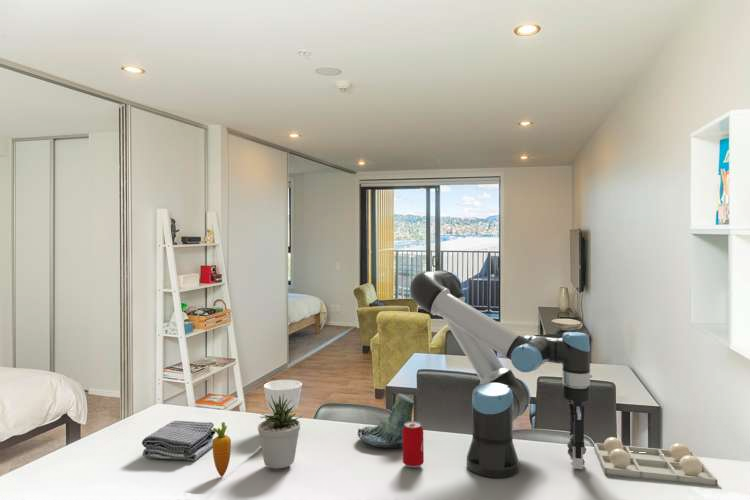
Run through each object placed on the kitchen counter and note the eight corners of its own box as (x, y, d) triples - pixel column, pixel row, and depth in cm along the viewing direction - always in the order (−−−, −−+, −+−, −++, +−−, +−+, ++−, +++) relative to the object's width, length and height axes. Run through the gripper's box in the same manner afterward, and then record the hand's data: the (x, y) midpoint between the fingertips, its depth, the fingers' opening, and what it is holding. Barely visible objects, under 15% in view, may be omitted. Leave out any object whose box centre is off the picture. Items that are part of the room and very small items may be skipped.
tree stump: (360, 424, 178) (380, 379, 179) (411, 449, 176) (431, 403, 176) (352, 439, 160) (374, 389, 161) (408, 468, 157) (431, 416, 158)
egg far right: (672, 464, 145) (672, 446, 145) (667, 457, 151) (666, 439, 151) (693, 466, 144) (693, 448, 144) (686, 458, 149) (686, 441, 149)
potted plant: (311, 461, 150) (311, 395, 150) (274, 476, 140) (274, 406, 140) (286, 449, 158) (286, 387, 158) (249, 463, 148) (249, 397, 148)
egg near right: (683, 478, 137) (682, 458, 137) (676, 469, 142) (676, 451, 142) (705, 480, 135) (705, 461, 135) (698, 472, 140) (697, 453, 140)
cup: (257, 434, 172) (257, 389, 172) (272, 420, 185) (271, 378, 185) (295, 436, 170) (294, 390, 170) (307, 422, 183) (306, 380, 183)
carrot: (220, 482, 136) (220, 428, 136) (208, 477, 139) (208, 424, 139) (234, 475, 141) (234, 422, 141) (222, 471, 143) (222, 419, 143)
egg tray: (604, 474, 140) (604, 467, 140) (594, 448, 158) (593, 442, 158) (717, 487, 132) (717, 479, 132) (692, 458, 151) (692, 451, 151)
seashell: (588, 471, 142) (588, 436, 142) (568, 469, 143) (568, 435, 143) (584, 463, 148) (584, 429, 148) (565, 461, 149) (565, 428, 149)
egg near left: (611, 470, 141) (611, 451, 141) (607, 462, 147) (607, 444, 147) (632, 472, 140) (632, 454, 140) (627, 464, 145) (627, 446, 145)
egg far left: (605, 457, 150) (605, 440, 150) (602, 450, 155) (602, 433, 155) (625, 459, 149) (625, 441, 149) (621, 452, 154) (621, 435, 154)
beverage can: (426, 461, 149) (426, 422, 149) (419, 470, 143) (419, 429, 143) (407, 458, 152) (407, 419, 152) (399, 466, 146) (399, 425, 146)
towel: (169, 440, 167) (169, 417, 167) (219, 444, 164) (219, 421, 164) (140, 459, 152) (140, 434, 152) (194, 464, 149) (193, 438, 149)
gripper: (595, 395, 136) (595, 479, 136) (585, 378, 153) (585, 452, 153) (566, 393, 138) (566, 475, 138) (559, 376, 155) (560, 450, 155)
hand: (576, 463), depth 146 cm, fingers closed on seashell, 5 cm apart
